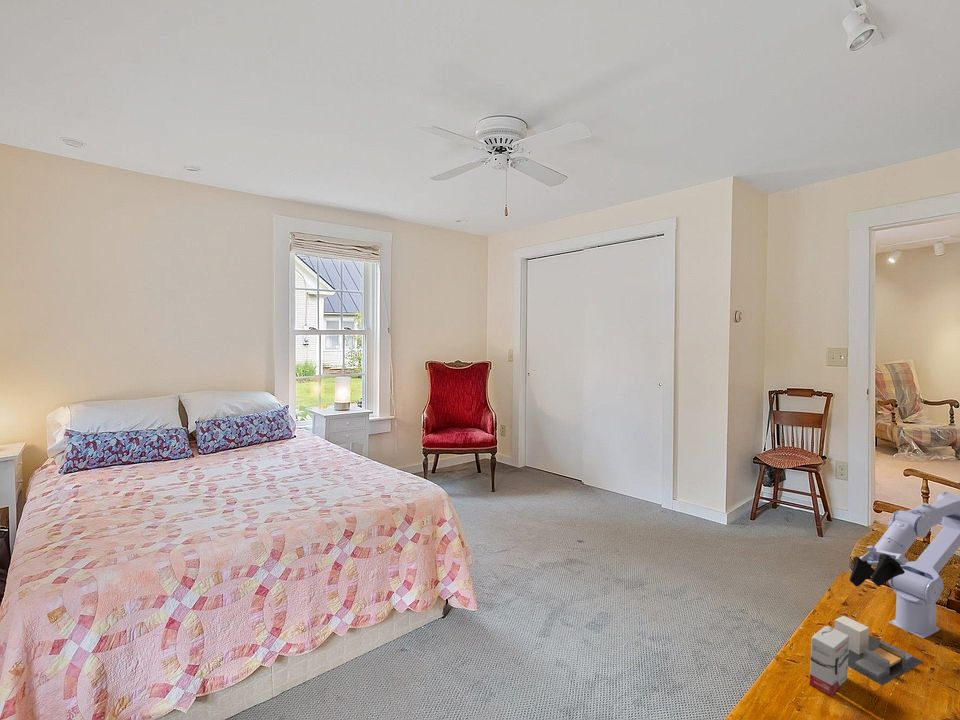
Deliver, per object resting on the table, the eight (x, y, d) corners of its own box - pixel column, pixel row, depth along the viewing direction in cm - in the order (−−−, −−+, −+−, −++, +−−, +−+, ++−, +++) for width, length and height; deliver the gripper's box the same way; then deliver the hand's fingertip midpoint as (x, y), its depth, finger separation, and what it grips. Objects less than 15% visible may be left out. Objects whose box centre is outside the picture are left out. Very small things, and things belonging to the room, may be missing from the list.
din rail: (856, 631, 138) (856, 618, 138) (923, 664, 124) (923, 649, 124) (815, 651, 130) (815, 637, 130) (881, 688, 117) (882, 672, 116)
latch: (879, 649, 127) (879, 647, 127) (900, 660, 123) (900, 658, 123) (867, 655, 125) (868, 653, 125) (889, 667, 121) (889, 664, 121)
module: (843, 637, 134) (843, 615, 134) (868, 650, 129) (869, 627, 129) (833, 641, 133) (834, 619, 132) (859, 654, 127) (859, 632, 127)
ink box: (832, 697, 114) (833, 647, 114) (808, 684, 119) (809, 636, 118) (848, 682, 119) (850, 634, 118) (825, 670, 123) (826, 623, 122)
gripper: (859, 536, 141) (831, 571, 137) (900, 531, 127) (871, 569, 124) (881, 557, 139) (854, 592, 135) (925, 554, 125) (896, 593, 121)
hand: (863, 583), depth 129 cm, fingers open, 7 cm apart
